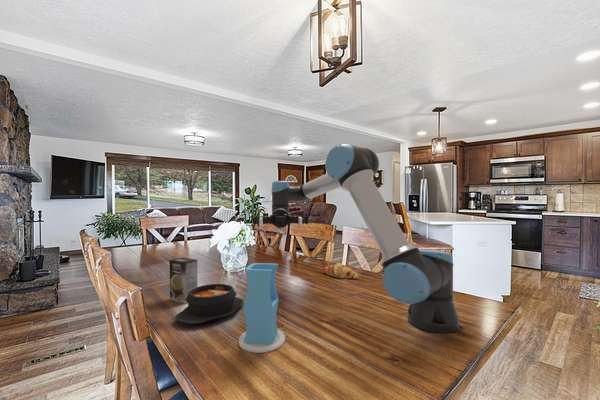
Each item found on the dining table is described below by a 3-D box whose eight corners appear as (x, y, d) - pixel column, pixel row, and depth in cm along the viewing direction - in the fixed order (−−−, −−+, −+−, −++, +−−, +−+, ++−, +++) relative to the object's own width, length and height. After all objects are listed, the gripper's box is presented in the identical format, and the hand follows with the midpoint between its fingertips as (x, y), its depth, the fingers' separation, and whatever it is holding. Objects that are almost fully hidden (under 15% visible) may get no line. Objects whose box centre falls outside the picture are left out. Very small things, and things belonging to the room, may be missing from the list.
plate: (294, 343, 79) (293, 340, 79) (250, 358, 71) (250, 354, 71) (271, 325, 90) (271, 323, 90) (231, 337, 82) (231, 334, 82)
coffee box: (169, 300, 112) (168, 259, 112) (182, 295, 118) (182, 256, 118) (185, 304, 108) (184, 262, 108) (198, 299, 114) (197, 258, 114)
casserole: (218, 298, 115) (218, 277, 115) (255, 306, 106) (255, 284, 106) (162, 322, 93) (161, 296, 93) (201, 335, 84) (201, 306, 84)
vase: (272, 345, 76) (271, 270, 76) (243, 343, 77) (243, 269, 77) (278, 331, 84) (278, 263, 84) (253, 329, 85) (252, 262, 85)
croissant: (361, 285, 142) (364, 269, 145) (353, 280, 134) (356, 263, 137) (324, 277, 154) (328, 263, 157) (315, 272, 147) (319, 257, 150)
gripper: (310, 226, 118) (317, 232, 97) (249, 227, 116) (243, 234, 95) (310, 208, 118) (317, 210, 96) (249, 209, 116) (243, 211, 95)
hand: (280, 222), depth 96 cm, fingers open, 13 cm apart
